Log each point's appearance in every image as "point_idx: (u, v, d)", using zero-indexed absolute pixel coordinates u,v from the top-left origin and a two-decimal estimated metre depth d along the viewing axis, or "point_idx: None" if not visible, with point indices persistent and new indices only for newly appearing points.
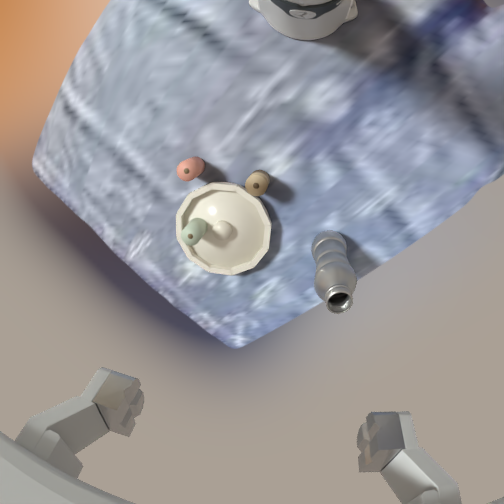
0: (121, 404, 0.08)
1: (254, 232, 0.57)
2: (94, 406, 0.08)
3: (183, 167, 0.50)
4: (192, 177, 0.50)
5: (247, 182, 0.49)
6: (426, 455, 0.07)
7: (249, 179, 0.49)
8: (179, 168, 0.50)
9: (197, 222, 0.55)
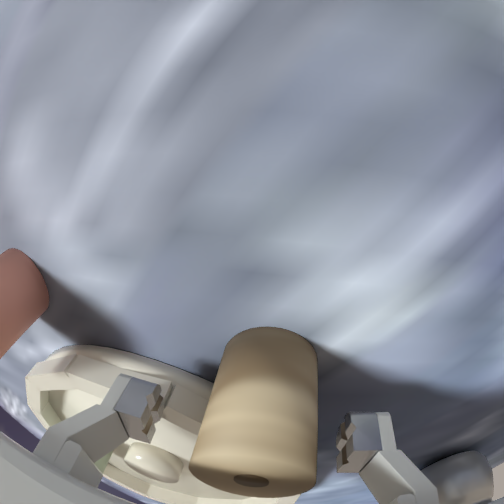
0: (144, 411, 0.08)
1: None
2: (115, 414, 0.08)
3: None
4: None
5: (198, 466, 0.07)
6: (404, 457, 0.07)
7: (208, 461, 0.06)
8: None
9: None
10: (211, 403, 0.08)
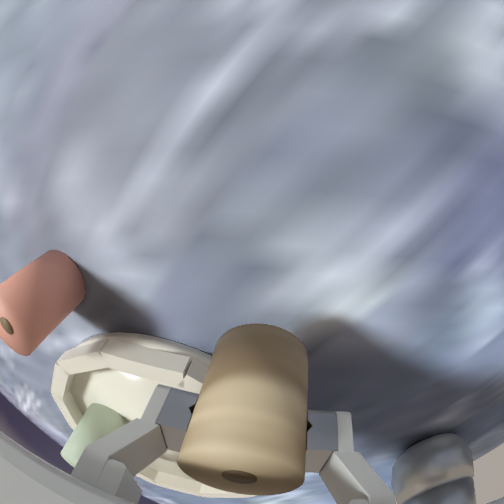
0: None
1: None
2: (158, 428, 0.08)
3: None
4: (27, 349, 0.11)
5: (187, 461, 0.07)
6: (363, 460, 0.07)
7: (195, 456, 0.06)
8: None
9: (96, 431, 0.16)
10: (200, 399, 0.08)
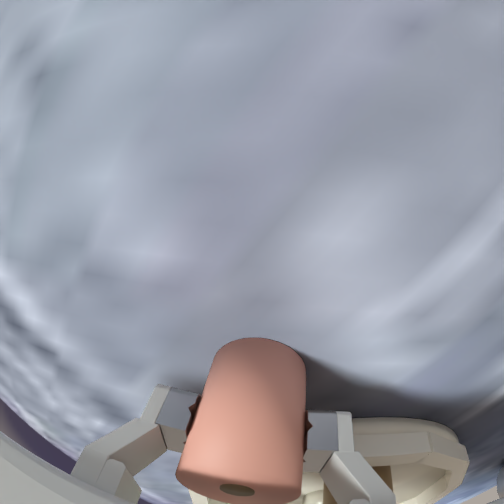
0: (188, 423, 0.08)
1: (409, 489, 0.14)
2: (157, 428, 0.08)
3: (214, 478, 0.06)
4: (270, 503, 0.07)
5: None
6: (363, 460, 0.07)
7: None
8: (193, 476, 0.07)
9: None
10: None
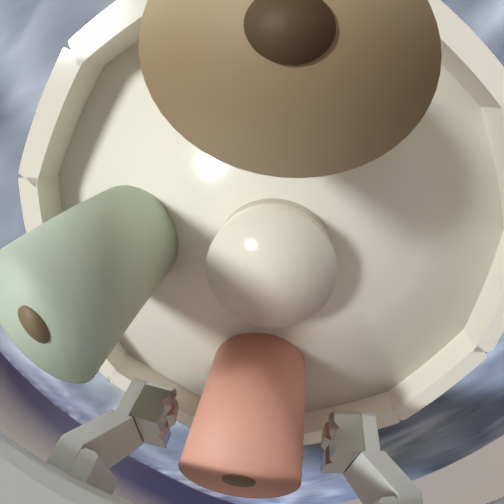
0: (161, 416, 0.08)
1: (447, 274, 0.09)
2: (131, 419, 0.08)
3: (216, 468, 0.07)
4: (271, 494, 0.07)
5: (166, 2, 0.03)
6: (388, 459, 0.07)
7: None
8: (196, 467, 0.07)
9: (98, 212, 0.07)
10: None
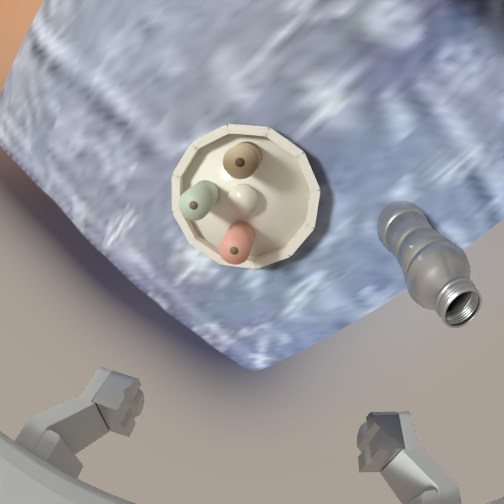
0: (121, 404, 0.08)
1: (292, 202, 0.37)
2: (94, 406, 0.08)
3: (228, 244, 0.35)
4: (242, 260, 0.35)
5: (226, 157, 0.31)
6: (426, 455, 0.07)
7: (229, 152, 0.30)
8: (223, 245, 0.35)
9: (205, 185, 0.35)
10: None
